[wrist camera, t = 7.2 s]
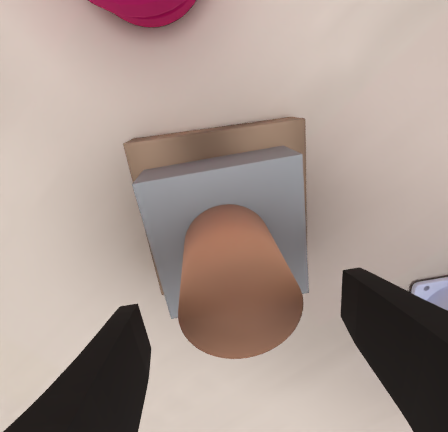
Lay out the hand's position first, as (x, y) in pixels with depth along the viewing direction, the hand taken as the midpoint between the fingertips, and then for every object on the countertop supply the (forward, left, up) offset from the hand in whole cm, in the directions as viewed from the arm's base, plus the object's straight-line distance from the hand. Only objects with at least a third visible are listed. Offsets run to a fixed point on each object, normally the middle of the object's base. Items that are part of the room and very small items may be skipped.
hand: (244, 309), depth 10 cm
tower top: (0, 0, -8) cm, 8 cm away
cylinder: (0, 0, -5) cm, 5 cm away
